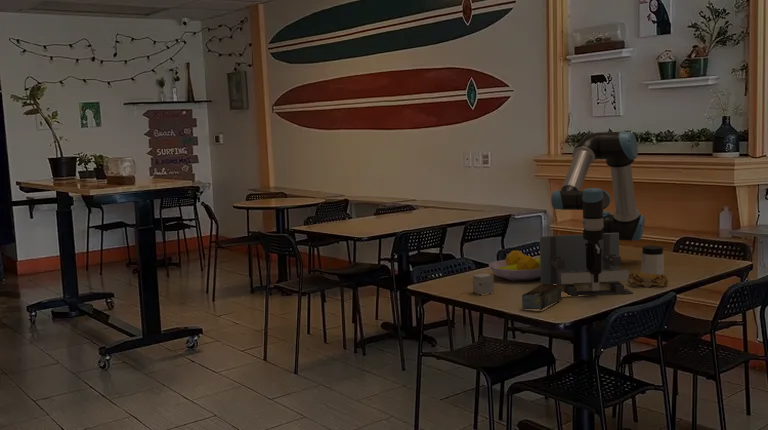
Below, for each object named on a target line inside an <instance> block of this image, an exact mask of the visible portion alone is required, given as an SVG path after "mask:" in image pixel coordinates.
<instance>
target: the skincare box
mask: <svg viewBox="0 0 768 430" xmlns="http://www.w3.org/2000/svg"><path fill="white" fill-rule="evenodd" d="M494 276H495V275H492V274H489V273H485V272H483V273H478V274H473V275H472V292H475V293H474V294H476V293H479V294H486V293H491V292H494V291H495V290H494V289H495V288H494V287H495V286H494V285H495V283H494V279H495V278H494ZM494 293H495V292H494ZM479 294H478V295H479Z"/></svg>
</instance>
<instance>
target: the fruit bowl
mask: <svg viewBox="0 0 768 430" xmlns="http://www.w3.org/2000/svg"><path fill="white" fill-rule="evenodd" d="M488 266H489V268H490V269H491V271H492V272H493V273H494V276H497V277H501V278H502V279H506V280H509V281H512V282H519V281H534V280H537V279H538V278H541V271H540V256H539V257H536V258H533V256H531V255H526V254H525V253H523V252H522V251H520V250H518V249H517V250H512V251H510V252H509V253H508V254H507V255H506V257H505V259H501V260H495V261H492V262H491V263H490V264H488Z"/></svg>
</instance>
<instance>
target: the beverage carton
mask: <svg viewBox="0 0 768 430" xmlns="http://www.w3.org/2000/svg"><path fill="white" fill-rule="evenodd" d="M561 292H562V284H559V285H553V284H542V285H541V284H540V285H539V286H537V287H535V288H532V289H531V290H529V291H527V292H525V293H522V294H521V298H522V299H521V300H522V301H521V305H522V306H521V307H522V309H523V308H524V309H540V310H542V309H543V308H545V307H547V306H549V305H551V304H553V303H555V302H557V301H559V300H561V299H563V297H561Z"/></svg>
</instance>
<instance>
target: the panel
mask: <svg viewBox="0 0 768 430" xmlns="http://www.w3.org/2000/svg"><path fill="white" fill-rule="evenodd" d="M598 242H599V244H600V248H602V253H601V270H605V269H620V267H621V266H622V265H621V264H622V263H621V262H622V256H620V240H619V233H603V239H602V240H599V241H598ZM585 243H588V240H585V239H583V233H582V234H567V235H565V234H564V235H563V234H561V235H546V236H543V235H540V236H539V253H540V254H539V257H540V271H541V277H540V285H542V284H559V285H562V284H561V283H559V272H565V271H585V270H588V269H587V268H586V247H585ZM610 282H616V281H609V282H608V283H610ZM618 282H620V281H618ZM600 283H601V282H599V284H600ZM604 283H607V282H604Z"/></svg>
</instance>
